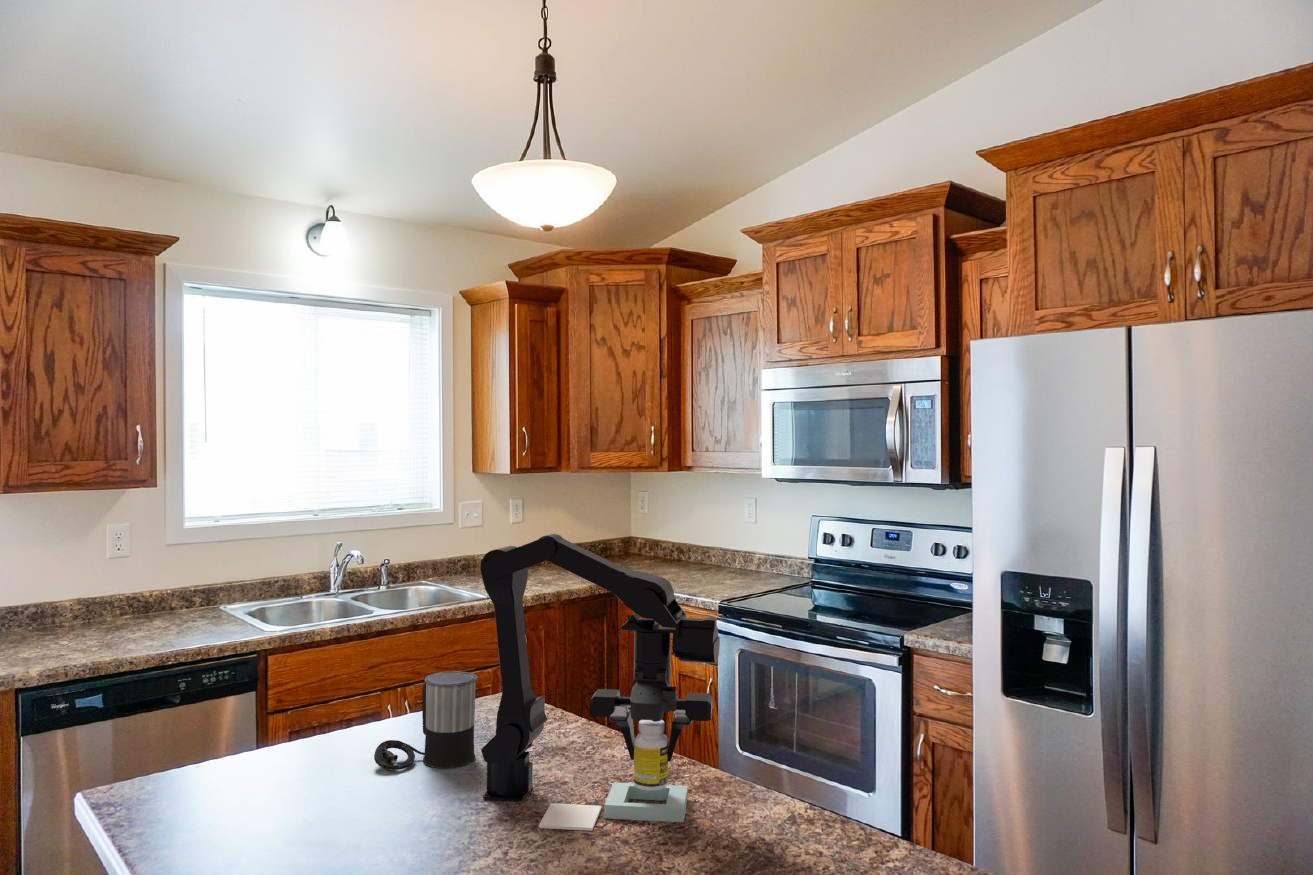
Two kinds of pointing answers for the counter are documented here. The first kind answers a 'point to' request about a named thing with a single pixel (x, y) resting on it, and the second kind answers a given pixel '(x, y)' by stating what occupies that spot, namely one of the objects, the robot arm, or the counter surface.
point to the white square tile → (570, 817)
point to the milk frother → (440, 724)
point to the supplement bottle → (650, 756)
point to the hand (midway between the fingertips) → (651, 759)
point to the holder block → (622, 809)
